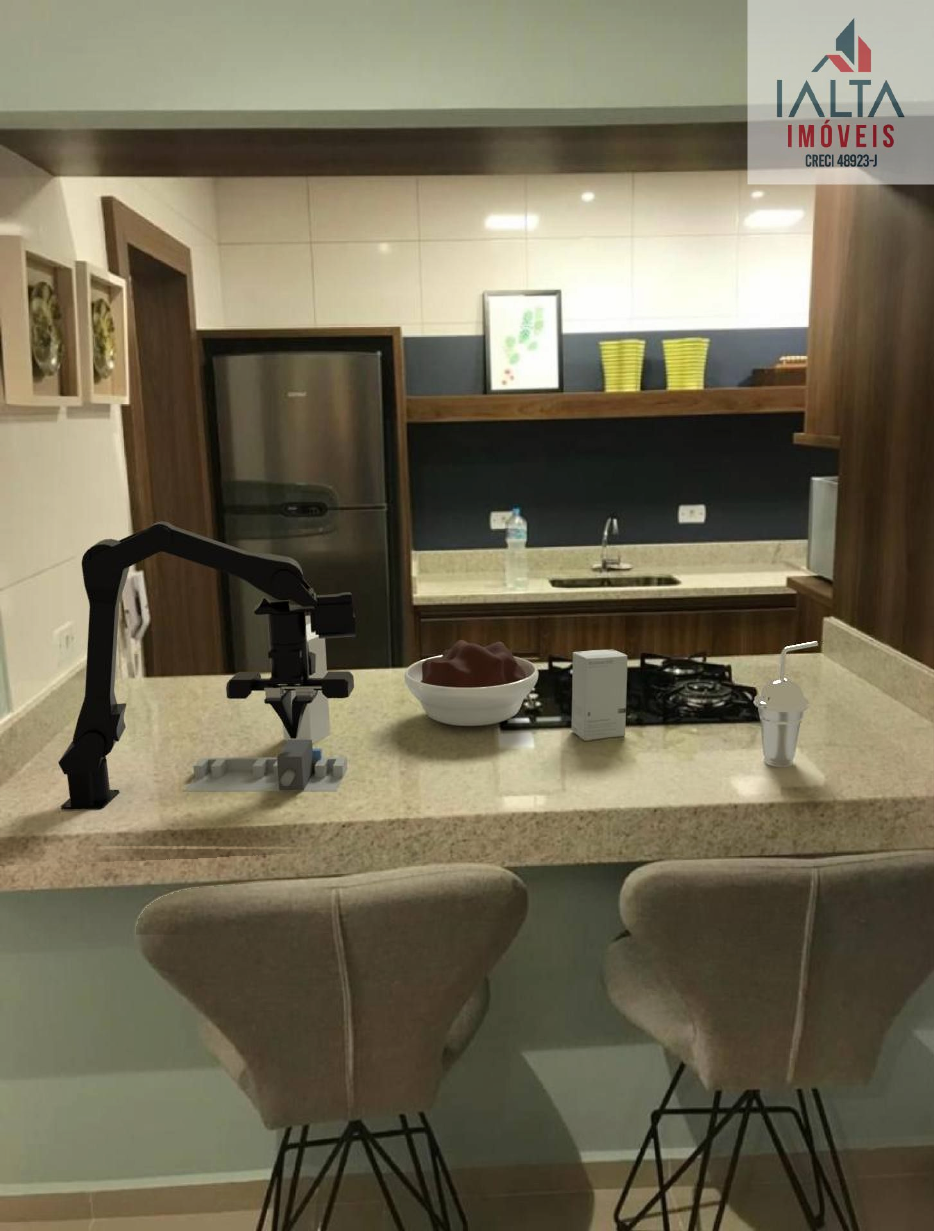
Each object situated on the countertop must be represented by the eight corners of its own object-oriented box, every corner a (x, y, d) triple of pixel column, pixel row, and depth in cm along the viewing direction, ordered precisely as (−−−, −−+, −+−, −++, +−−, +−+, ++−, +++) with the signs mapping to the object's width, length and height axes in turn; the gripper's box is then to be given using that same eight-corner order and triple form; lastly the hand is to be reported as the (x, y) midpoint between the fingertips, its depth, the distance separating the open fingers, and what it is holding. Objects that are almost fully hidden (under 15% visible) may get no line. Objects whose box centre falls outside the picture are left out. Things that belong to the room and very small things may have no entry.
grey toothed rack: (336, 792, 145) (335, 769, 144) (183, 792, 146) (180, 769, 145) (347, 770, 153) (346, 748, 153) (202, 770, 155) (200, 748, 154)
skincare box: (584, 742, 164) (584, 659, 161) (570, 731, 170) (570, 651, 166) (627, 736, 166) (629, 654, 163) (612, 725, 172) (613, 646, 169)
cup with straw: (756, 749, 158) (761, 633, 154) (813, 757, 154) (820, 638, 150) (746, 766, 151) (751, 645, 147) (805, 775, 147) (812, 651, 143)
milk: (283, 741, 168) (274, 620, 163) (303, 731, 173) (295, 613, 168) (312, 746, 165) (303, 623, 160) (331, 735, 170) (323, 616, 166)
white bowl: (378, 719, 179) (375, 642, 175) (473, 690, 195) (471, 619, 192) (470, 751, 161) (468, 665, 158) (566, 716, 178) (566, 638, 174)
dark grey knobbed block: (299, 798, 142) (297, 763, 141) (274, 798, 142) (272, 763, 141) (313, 771, 152) (311, 739, 151) (290, 772, 152) (288, 739, 151)
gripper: (357, 628, 151) (362, 720, 154) (242, 629, 152) (249, 721, 156) (344, 645, 140) (350, 744, 144) (221, 646, 141) (229, 744, 145)
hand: (294, 737), depth 147 cm, fingers closed
